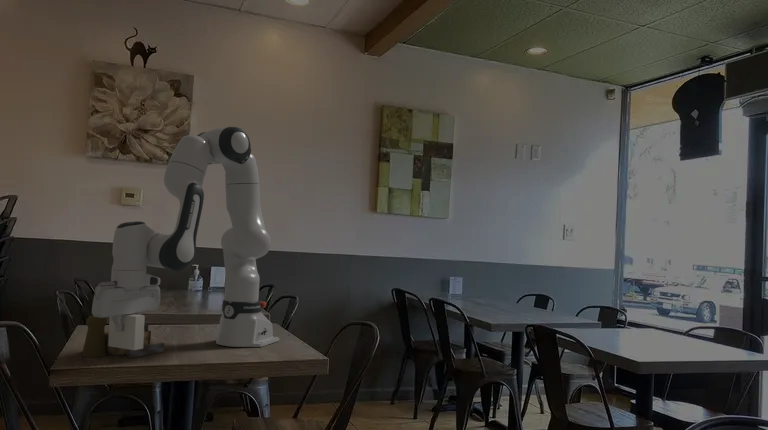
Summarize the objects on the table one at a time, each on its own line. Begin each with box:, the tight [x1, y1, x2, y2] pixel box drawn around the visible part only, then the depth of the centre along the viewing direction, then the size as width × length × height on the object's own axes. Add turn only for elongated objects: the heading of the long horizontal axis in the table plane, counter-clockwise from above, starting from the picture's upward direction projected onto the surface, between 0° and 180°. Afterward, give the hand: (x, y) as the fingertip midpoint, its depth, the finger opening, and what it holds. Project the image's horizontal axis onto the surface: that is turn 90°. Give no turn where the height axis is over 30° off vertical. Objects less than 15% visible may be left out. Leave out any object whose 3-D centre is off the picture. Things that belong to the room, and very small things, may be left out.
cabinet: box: [105, 323, 165, 359], centre depth 168 cm, size 12×15×8 cm
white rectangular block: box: [108, 314, 146, 350], centre depth 159 cm, size 10×4×9 cm, turn 65°
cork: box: [81, 315, 108, 358], centre depth 161 cm, size 6×6×11 cm
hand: (126, 330), depth 158 cm, fingers closed on white rectangular block, 3 cm apart
